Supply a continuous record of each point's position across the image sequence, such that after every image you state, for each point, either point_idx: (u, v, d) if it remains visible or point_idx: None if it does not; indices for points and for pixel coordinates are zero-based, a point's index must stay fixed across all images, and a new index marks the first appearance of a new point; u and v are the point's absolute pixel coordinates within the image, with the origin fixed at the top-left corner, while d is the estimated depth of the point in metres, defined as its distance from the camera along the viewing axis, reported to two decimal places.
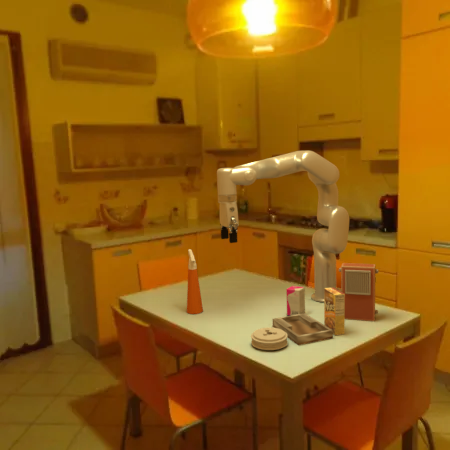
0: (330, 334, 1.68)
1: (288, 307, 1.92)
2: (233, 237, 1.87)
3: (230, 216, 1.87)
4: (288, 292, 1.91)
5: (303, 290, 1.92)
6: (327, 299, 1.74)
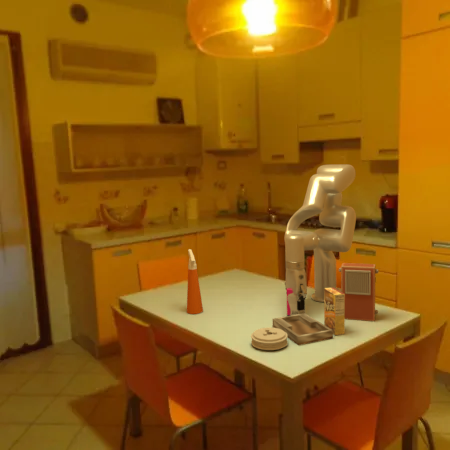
0: (330, 334, 1.68)
1: (288, 307, 1.92)
2: (301, 305, 1.88)
3: (299, 283, 1.86)
4: (288, 292, 1.91)
5: None
6: (327, 299, 1.74)
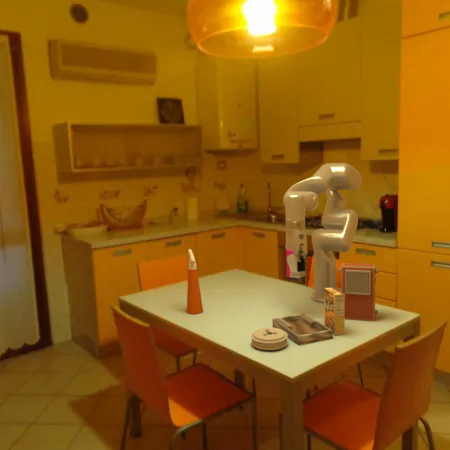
0: (330, 334, 1.68)
1: (288, 269, 1.87)
2: (301, 266, 1.83)
3: (299, 243, 1.81)
4: (288, 254, 1.86)
5: None
6: (327, 299, 1.74)
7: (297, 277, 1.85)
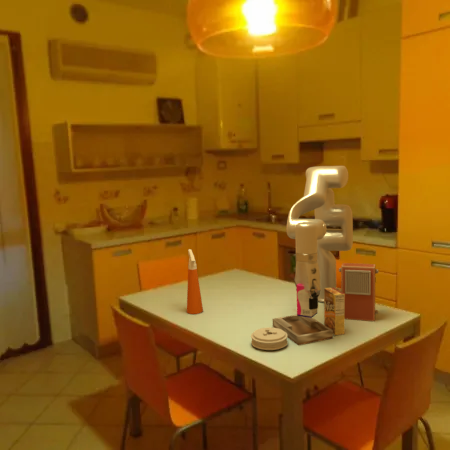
0: (330, 334, 1.68)
1: (298, 305, 1.68)
2: (314, 303, 1.64)
3: (311, 278, 1.63)
4: (298, 289, 1.67)
5: None
6: (327, 299, 1.74)
7: (309, 315, 1.66)
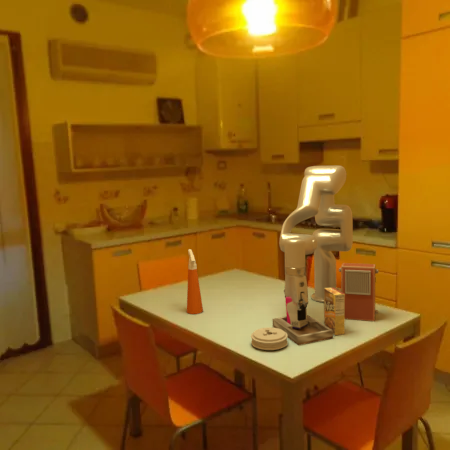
0: (330, 334, 1.68)
1: (288, 317, 1.77)
2: (302, 315, 1.73)
3: (300, 291, 1.72)
4: (287, 301, 1.77)
5: None
6: (327, 299, 1.74)
7: (297, 326, 1.75)
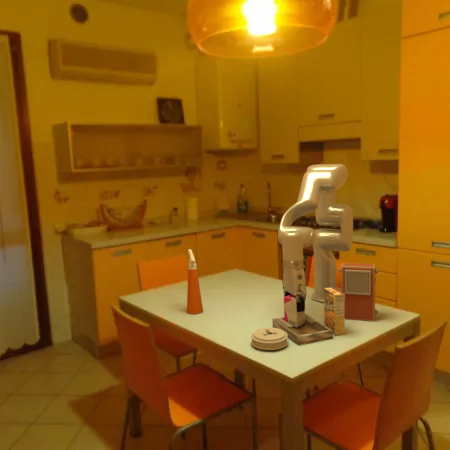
0: (330, 334, 1.68)
1: (285, 316, 1.79)
2: (301, 306, 1.74)
3: (298, 284, 1.73)
4: (285, 301, 1.78)
5: None
6: (327, 299, 1.74)
7: (294, 326, 1.77)
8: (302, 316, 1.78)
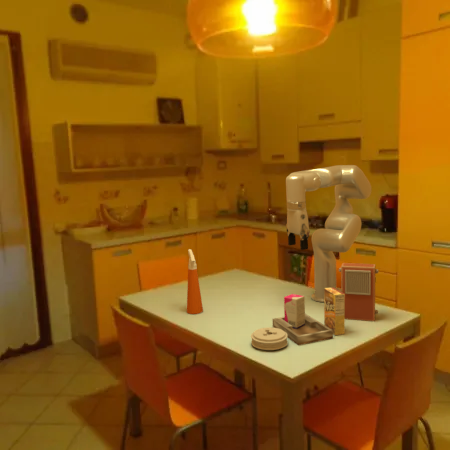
0: (330, 334, 1.68)
1: (285, 316, 1.79)
2: (304, 244, 1.88)
3: (301, 223, 1.87)
4: (285, 301, 1.78)
5: (302, 299, 1.78)
6: (327, 299, 1.74)
7: (294, 326, 1.77)
8: (302, 316, 1.78)
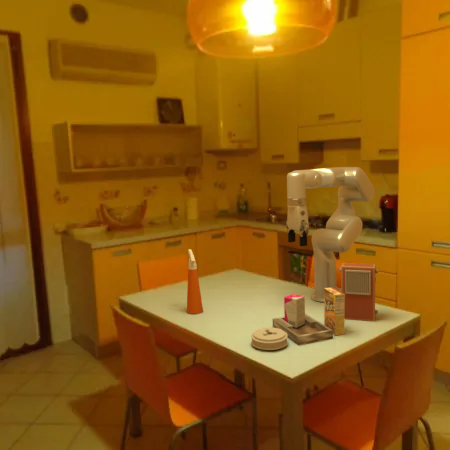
0: (330, 334, 1.68)
1: (285, 316, 1.79)
2: (303, 240, 1.89)
3: (301, 220, 1.89)
4: (285, 301, 1.78)
5: (302, 299, 1.78)
6: (327, 299, 1.74)
7: (294, 326, 1.77)
8: (302, 316, 1.78)
